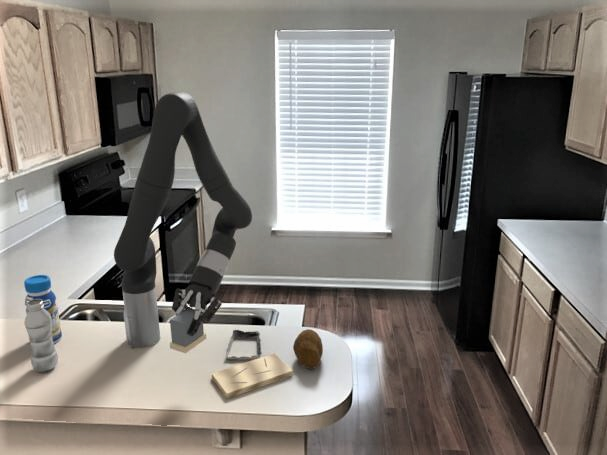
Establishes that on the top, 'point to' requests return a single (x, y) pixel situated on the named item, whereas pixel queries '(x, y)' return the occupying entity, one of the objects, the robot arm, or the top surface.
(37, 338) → the plastic bottle
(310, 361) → the potato
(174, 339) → the sanding block
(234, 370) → the pine board
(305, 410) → the top surface
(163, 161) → the robot arm
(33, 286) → the beverage bottle
